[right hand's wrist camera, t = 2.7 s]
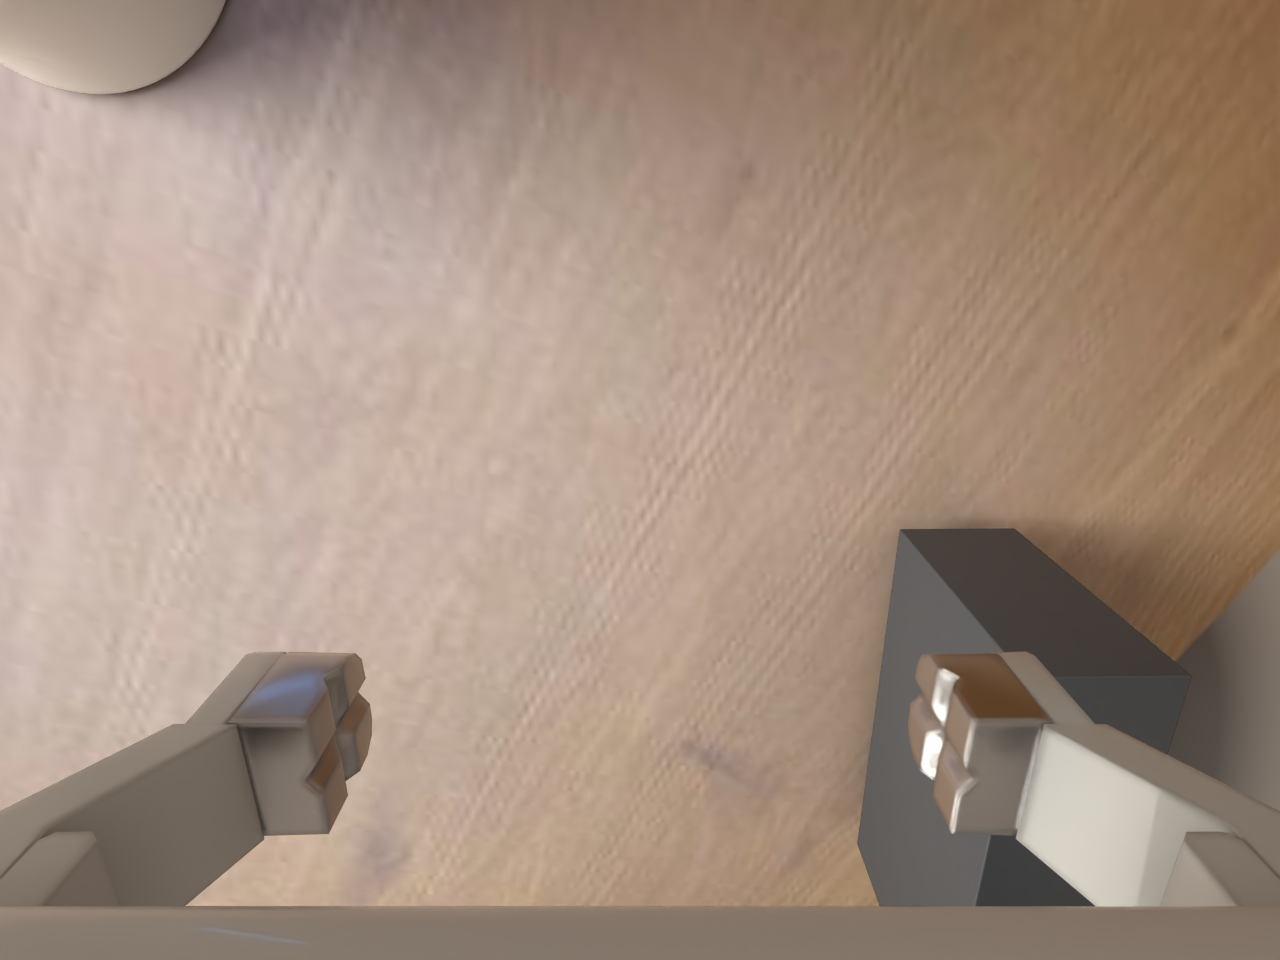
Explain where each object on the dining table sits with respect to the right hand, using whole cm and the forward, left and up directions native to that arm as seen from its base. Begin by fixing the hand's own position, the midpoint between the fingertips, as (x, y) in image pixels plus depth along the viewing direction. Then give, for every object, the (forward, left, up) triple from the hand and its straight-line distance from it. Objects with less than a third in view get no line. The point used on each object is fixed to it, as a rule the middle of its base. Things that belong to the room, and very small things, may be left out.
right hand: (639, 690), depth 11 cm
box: (+20, +17, -25) cm, 36 cm away
